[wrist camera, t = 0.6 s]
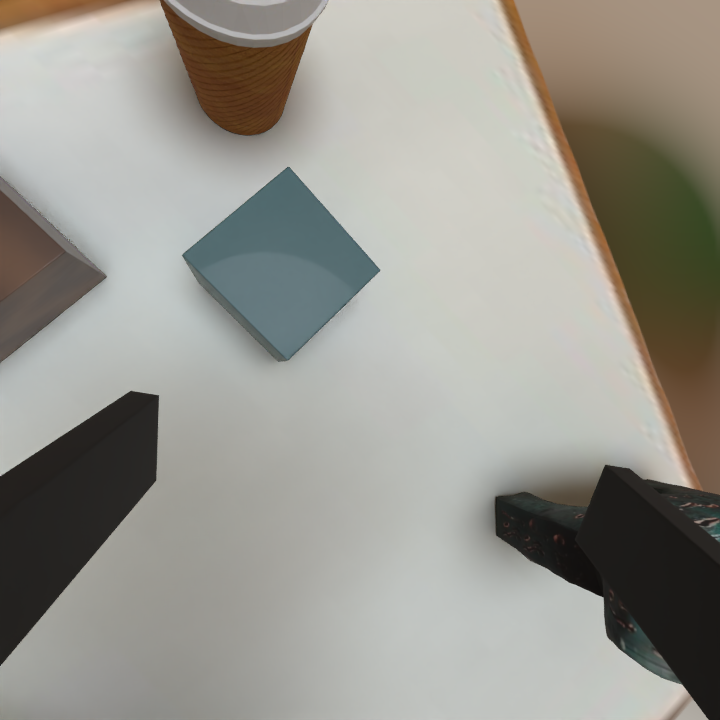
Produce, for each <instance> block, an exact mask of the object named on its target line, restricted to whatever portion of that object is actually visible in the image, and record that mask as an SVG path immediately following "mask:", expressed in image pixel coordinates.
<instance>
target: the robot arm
mask: <svg viewBox="0 0 720 720" xmlns="http://www.w3.org/2000/svg"><path fill="white" fill-rule="evenodd" d="M158 407H159V395H153V394H146V393H140V392H134V391H130V392H128V393H127V394H125V395H124V396H122V397H121V398H119V399H118V400H116V401H115V402H113V403H112V404H110V405H109V406H107V407H106V408H104V409H103V410H101V411H99V412H98V413H96V414H95V415H93V416H92V417H90V418H89V419H87V420H86V421H84V422H83V423H81V424H80V425H78V426H77V427H75V428H74V429H72V430H70V431H69V432H67V433H66V434H64V435H63V436H61V437H60V438H58V439H57V440H55V441H54V442H52V443H51V444H49V445H48V446H46V447H44V448H43V449H41V450H40V451H38V452H37V453H35V454H34V455H32V456H31V457H29V458H28V459H26V460H25V461H23V462H22V463H20V464H19V465H17V466H15V467H14V468H12V469H11V470H9V471H8V472H6V473H5V474H3V475H2V476H0V666H1V664H2V663H3V662H4V661H5V660H6V659H7V657H8V656H9V655H10V654H11V653H12V651H13V650H14V649H15V648H16V647H17V645H18V644H19V643H20V642H21V641H22V639H23V638H24V637H25V636H26V635H27V634H28V632H29V631H30V630H31V629H32V628H33V626H34V625H35V624H36V623H37V622H38V620H39V619H40V618H41V617H42V616H43V614H44V613H45V612H46V611H47V610H48V609H49V607H50V606H51V605H52V604H53V603H54V601H55V600H56V599H57V598H58V597H59V595H60V594H61V593H62V592H63V591H64V590H65V588H66V587H67V586H68V585H69V584H70V582H71V581H72V580H73V579H74V578H75V576H76V575H77V574H78V573H79V572H80V570H81V569H82V568H83V567H84V566H85V565H86V563H87V562H88V561H89V560H90V559H91V557H92V556H93V555H94V554H95V553H96V551H97V550H98V549H99V548H100V547H101V545H102V544H103V543H104V542H105V541H106V540H107V538H108V537H109V536H110V535H111V534H112V532H113V531H114V530H115V529H116V528H117V526H118V525H119V524H120V523H121V522H122V521H123V519H124V518H125V517H126V516H127V515H128V513H129V512H130V511H131V510H132V509H133V507H134V506H135V505H136V504H137V503H138V501H139V500H140V499H141V498H142V497H143V496H144V494H145V493H146V492H147V491H148V490H149V488H150V487H151V486H152V485H153V484H154V482H155V481H156V471H157V439H158ZM575 541H576V542H577V544H578V545H579V546H580V548H581V549H582V550H583V552H584V553H585V554H586V556H587V557H588V558H589V560H590V561H591V562H592V564H593V565H594V566H595V568H596V569H597V570H598V572H599V573H600V574H601V576H602V577H603V578H604V580H605V581H606V583H607V584H608V585H609V587H610V588H611V589H612V591H613V592H614V593H615V595H616V596H617V597H618V599H619V600H620V601H621V603H622V604H623V605H624V607H625V608H626V609H627V611H628V612H629V613H630V615H631V616H632V617H633V619H634V620H635V621H636V623H637V624H638V625H639V627H640V628H641V629H642V631H643V632H644V634H645V635H646V636H647V638H648V639H649V640H650V642H651V643H652V644H653V646H654V647H655V648H656V650H657V651H658V652H659V654H660V655H661V656H662V658H663V659H664V660H665V662H666V663H667V664H668V666H669V667H670V668H671V670H672V671H673V672H674V674H675V675H676V676H677V678H678V679H679V681H680V682H681V683H682V685H683V686H684V687H685V689H686V690H687V691H688V693H689V694H690V695H691V697H692V698H693V699H694V701H695V702H696V703H697V705H698V706H699V707H700V709H701V710H702V711H703V713H704V714H705V715H706V717H707V718H708V719H709V720H720V542H719V541H717V540H716V539H715V538H714V537H712V536H711V535H710V534H709V533H708V532H706V531H705V530H704V529H703V528H701V527H700V526H699V525H698V524H697V523H695V522H694V521H693V520H692V519H690V518H689V517H688V516H687V515H686V514H684V513H683V512H682V511H681V510H679V509H678V508H677V507H676V506H674V505H673V504H672V503H671V502H670V501H668V500H667V499H666V498H665V497H663V496H662V495H661V494H660V493H659V492H657V491H656V490H655V489H654V488H652V487H651V486H650V485H649V484H648V483H646V482H645V481H644V480H643V479H641V478H640V477H639V476H638V475H637V474H635V473H634V472H633V471H632V470H630V469H628V468H622V467H615V466H609V465H605V467H604V469H603V472H602V474H601V477H600V479H599V482H598V484H597V486H596V489H595V491H594V494H593V496H592V499H591V501H590V504H589V506H588V509H587V511H586V513H585V516H584V518H583V521H582V523H581V526H580V528H579V531H578V533H577V535H576V538H575Z"/></svg>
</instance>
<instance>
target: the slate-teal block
mask: <svg viewBox="0 0 720 720" xmlns="http://www.w3.org/2000/svg"><path fill="white" fill-rule="evenodd" d="M182 256H183V258H184V259H185V261H186V263H187V264H188V266H189V268H190V269H191V271H192V272H193V274H194V276H195V277H196V279H197V281H198V282H199V283H200V284H201V285H202V286H203V287H204V288H205V289H206V290H207V291H208V292H209V293H210V294H211V295H212V296H213V297H214V298H215V299H216V300H217V301H218V302H219V303H220V304H221V305H222V306H223V307H224V308H225V309H226V310H227V311H228V312H229V313H230V314H231V315H232V316H233V317H234V318H235V319H236V320H237V321H238V322H239V323H240V324H241V325H242V326H243V327H244V328H245V329H246V330H247V331H248V332H249V333H250V334H251V335H252V336H253V337H254V338H255V339H256V340H257V341H258V342H259V343H260V344H261V345H262V346H263V347H264V348H265V349H266V350H267V351H268V352H269V353H270V354H271V355H272V356H273V357H274V358H275V359H276V360H277V361H278V362H281V361H287V360H289V359H290V358H291V357H292V356H293V355H294V354H295V353H296V352H297V351H298V350H299V349H300V348H301V347H302V346H304V345H305V344H306V343H307V342H308V341H309V340H310V339H311V338H312V337H313V336H314V335H315V334H316V333H317V332H318V331H319V330H320V329H321V328H322V327H323V326H324V325H325V324H326V323H327V322H328V321H329V320H330V319H331V318H332V317H333V316H334V315H335V314H336V313H337V312H338V311H339V310H340V309H341V308H343V307H344V306H345V305H346V304H347V303H348V302H349V301H350V300H351V299H352V298H353V297H354V296H355V295H356V294H357V293H358V292H359V291H360V290H361V289H362V288H363V287H364V286H365V285H366V284H367V283H368V282H369V281H370V280H371V279H372V278H373V277H374V276H375V275H376V274H377V273H378V272H379V271H380V269H379V268H378V267H377V266H376V265H375V263H374V262H373V261H372V260H371V259H370V258H369V257H368V255H367V254H366V253H365V252H364V251H363V250H362V249H361V248H360V246H359V245H358V244H357V243H356V242H355V241H354V240H353V239H352V237H351V236H350V235H349V234H348V233H347V232H346V231H345V229H344V228H343V227H342V226H341V225H340V224H339V223H338V222H337V220H336V219H335V218H334V217H333V216H332V215H331V214H330V213H329V211H328V210H327V209H326V208H325V207H324V206H323V205H322V203H321V202H320V201H319V200H318V199H317V198H316V197H315V196H314V194H313V193H312V192H311V191H310V190H309V189H308V188H307V187H306V185H305V184H304V183H303V182H302V181H301V180H300V179H299V178H298V176H297V175H296V174H295V173H294V172H293V171H292V170H291V168H290V167H287V168H286V169H285V170H284V171H282V172H281V173H280V174H279V175H278V176H276V177H275V178H274V179H273V180H272V181H270V182H269V183H268V184H267V185H266V186H264V187H263V188H262V189H261V190H260V191H258V192H257V193H256V194H255V195H254V196H252V197H251V198H250V199H249V200H247V201H246V202H245V203H244V204H243V205H241V206H240V207H239V208H238V209H237V210H235V211H234V212H233V213H232V214H231V215H229V216H228V217H227V218H226V219H225V220H223V221H222V222H221V223H220V224H219V225H217V226H216V227H215V228H214V229H213V230H211V231H210V232H209V233H208V234H207V235H205V236H204V237H203V238H202V239H201V240H199V241H198V242H197V243H196V244H195V245H193V246H192V247H191V248H190V249H189V250H187V251H186V252H185V253H184V254H183V255H182Z"/></svg>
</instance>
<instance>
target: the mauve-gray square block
mask: <svg viewBox="0 0 720 720" xmlns="http://www.w3.org/2000/svg"><path fill="white" fill-rule="evenodd" d="M105 278H106V275H105V274H103V273H102V272H101V271H100V270H99V269H98V268H97V267H96V266H95V265H94V264H93V263H92V262H91V261H90V260H89V259H88V258H87V257H85V256H84V255H83V254H82V253H81V252H80V251H79V250H78V249H77V248H76V247H75V246H74V245H73V244H72V243H71V242H70V241H68V240H67V239H66V238H65V237H64V236H63V235H62V234H61V233H60V232H59V231H58V230H57V229H56V228H55V227H54V226H53V225H52V224H50V223H49V222H48V221H47V220H46V219H45V218H44V217H43V216H42V215H41V214H40V213H39V212H38V211H37V210H36V209H35V208H33V207H32V206H31V205H30V204H29V203H28V202H27V201H26V200H25V199H24V198H23V197H22V196H21V195H20V194H19V193H18V192H16V191H15V190H14V189H13V188H12V187H11V186H10V185H9V184H8V183H7V182H6V181H5V180H4V179H3V178H2V177H1V176H0V362H1V361H3V360H4V359H5V358H6V357H8V356H9V355H10V354H11V353H13V352H14V351H15V350H16V349H18V348H19V347H20V346H21V345H23V344H24V343H25V342H26V341H27V340H29V339H30V338H31V337H32V336H34V335H35V334H36V333H37V332H39V331H40V330H41V329H42V328H44V327H45V326H46V325H47V324H49V323H50V322H51V321H52V320H54V319H55V318H56V317H57V316H59V315H60V314H61V313H62V312H64V311H65V310H66V309H67V308H69V307H70V306H71V305H72V304H73V303H75V302H76V301H77V300H78V299H80V298H81V297H82V296H83V295H85V294H86V293H87V292H88V291H90V290H91V289H92V288H93V287H95V286H96V285H97V284H98V283H100V282H101V281H102V280H103V279H105Z"/></svg>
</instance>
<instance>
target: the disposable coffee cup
mask: <svg viewBox="0 0 720 720" xmlns="http://www.w3.org/2000/svg"><path fill="white" fill-rule="evenodd" d="M160 2H161V6H162V8H163V10H164V12H165V16H166V18H167V20H168V23H169V26H170V28H171V31H172V33H173V36H174V38H175V40H176V44H177V47H178V49H179V51H180V55H181V57H182V59H183V62H184V64H185V67H186V70H187V72H188V75H189V77H190V79H191V83H192V85H193V87H194V89H195V92H196V95H197V98H198V101H199V103H200V105H201V107H202V108H203V110H204V111H205V112H206V114H207V115H208V116H209V117H210V118H211V119H212V120H213V121H214V122H215V123H216V124H218V125H219V126H220V127H222V128H224V129H226V130H228V131H230V132H233V133H237V134H241V135H254V134H260V133H263V132H265V131H267V130H269V129H270V128H272V127H273V126H274V125H275V124H276V123H277V122H278V120H279V119H280V117H281V115H282V113H283V110H284V106H285V103H286V101H287V97H288V95H289V92H290V89H291V86H292V83H293V80H294V77H295V74H296V71H297V69H298V65H299V63H300V60H301V57H302V54H303V52H304V49H305V45H306V42H307V39H308V36H309V33H310V30H311V27H312V25H313V23H314V21H315V20H316V19H317V18H318V16H319V15H320V14H321V13H322V11H323V10H324V9H325V7H326V5H327V2H328V0H160Z"/></svg>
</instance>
